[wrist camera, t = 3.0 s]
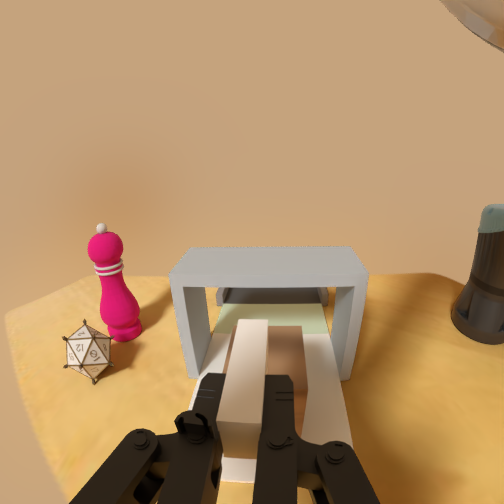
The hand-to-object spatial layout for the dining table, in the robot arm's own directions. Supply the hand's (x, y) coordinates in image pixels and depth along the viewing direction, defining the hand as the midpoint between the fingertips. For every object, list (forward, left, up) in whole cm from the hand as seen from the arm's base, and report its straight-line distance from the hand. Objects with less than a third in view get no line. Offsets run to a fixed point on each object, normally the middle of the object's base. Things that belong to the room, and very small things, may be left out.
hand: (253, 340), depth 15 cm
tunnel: (-9, -9, -19) cm, 23 cm away
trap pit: (-29, -29, -19) cm, 45 cm away
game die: (+8, -28, -19) cm, 35 cm away
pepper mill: (0, -36, -19) cm, 41 cm away
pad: (-21, -21, -19) cm, 36 cm away
